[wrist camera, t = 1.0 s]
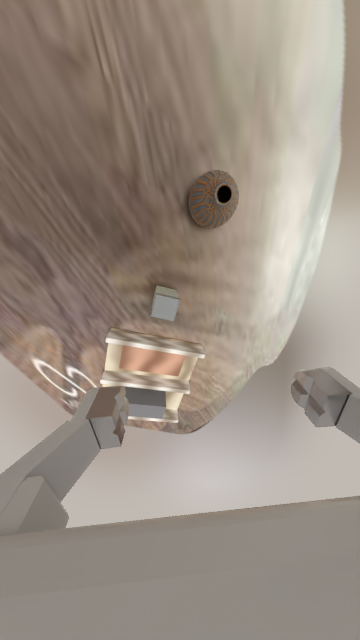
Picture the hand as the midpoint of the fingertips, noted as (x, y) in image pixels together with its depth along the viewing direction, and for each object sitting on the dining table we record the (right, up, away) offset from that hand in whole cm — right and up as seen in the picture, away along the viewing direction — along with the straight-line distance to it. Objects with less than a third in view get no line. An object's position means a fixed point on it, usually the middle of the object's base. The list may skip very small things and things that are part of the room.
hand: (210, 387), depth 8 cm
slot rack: (-9, -10, +34) cm, 37 cm away
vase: (+3, +22, +21) cm, 31 cm away
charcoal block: (-10, -15, +36) cm, 40 cm away
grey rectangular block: (-5, +8, +26) cm, 28 cm away
